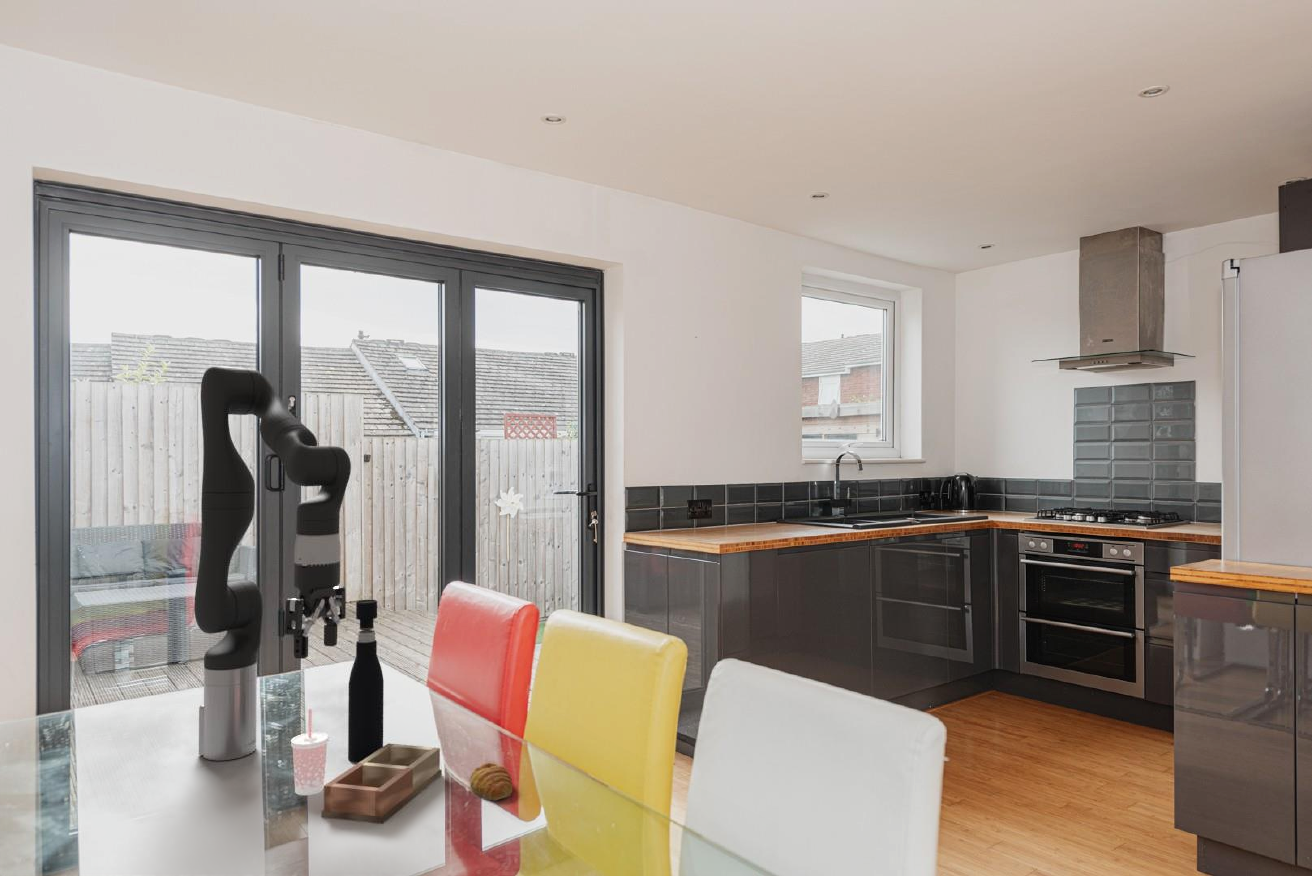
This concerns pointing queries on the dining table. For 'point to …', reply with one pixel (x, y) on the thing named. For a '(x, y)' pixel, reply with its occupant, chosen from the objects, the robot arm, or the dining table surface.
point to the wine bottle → (365, 689)
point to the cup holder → (381, 783)
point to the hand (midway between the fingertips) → (316, 651)
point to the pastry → (491, 782)
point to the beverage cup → (309, 760)
